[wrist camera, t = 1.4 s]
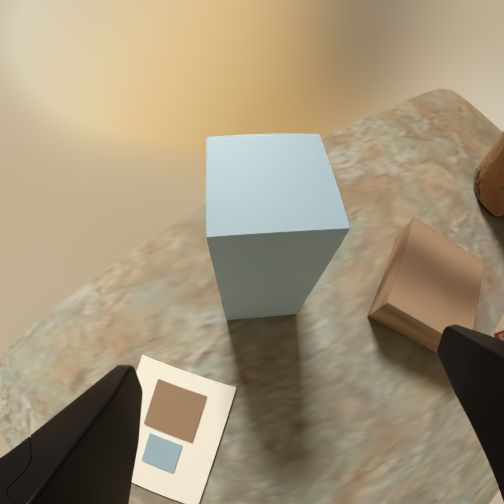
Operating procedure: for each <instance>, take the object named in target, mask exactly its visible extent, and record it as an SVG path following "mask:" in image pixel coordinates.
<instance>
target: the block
mask: <svg viewBox="0 0 504 504" xmlns="http://www.w3.org/2000/svg"><path fill="white" fill-rule="evenodd" d="M474 188H475V192H476V194H477V197H478V199H479V200H480V202H481V203H482V204H483V206H484V207H485V208H486V209H487V210H488V211H489V212H490V213H492V214H493V215H495V216H503V215H504V132H503V133H502V134H501V136H500V137H499V138H498V140H497V141H496V142H495V144H494V145H493V147H492V148H491V150H490V151H489V152H488V154H487V155H486V157H485V158H484V159H483V161H482V162H481V163H480V165H479V166H478V168H477V169H476V171H475V181H474Z"/></svg>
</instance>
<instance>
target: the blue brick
mask: <svg viewBox="0 0 504 504" xmlns="http://www.w3.org/2000/svg"><path fill="white" fill-rule="evenodd" d="M349 229H350V226H349V223H348V219H347V216H346V213H345V209H344V206H343V203H342V199H341V196H340V193H339V190H338V187H337V184H336V180H335V177H334V174H333V171H332V168H331V166H330V163H329V160H328V157H327V154H326V151H325V148H324V146H323V143H322V140H321V138H320V135H319V134H247V135H229V136H214V137H207V146H206V237H207V242H208V246H209V250H210V255H211V259H212V263H213V267H214V272H215V276H216V280H217V284H218V288H219V292H220V296H221V300H222V304H223V308H224V312H225V316H226V320H234V319H247V318H260V317H271V316H281V315H291V314H296V313H297V312H298V310H299V309H300V307H301V306H302V304H303V303H304V301H305V300H306V298H307V297H308V295H309V294H310V292H311V291H312V289H313V287H314V286H315V284H316V283H317V281H318V280H319V278H320V277H321V275H322V273H323V272H324V270H325V269H326V267H327V265H328V264H329V262H330V261H331V259H332V257H333V256H334V254H335V252H336V251H337V249H338V247H339V246H340V244H341V242H342V241H343V239H344V237H345V236H346V234H347V232H348V231H349Z"/></svg>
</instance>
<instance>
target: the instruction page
mask: <svg viewBox="0 0 504 504" xmlns="http://www.w3.org/2000/svg"><path fill="white" fill-rule="evenodd" d="M136 373H137V376H138V379H139V382H140V384H141V387H142V392H143V395H142V406H141V418H140V431H139V442H138V449H137V454H136V459H135V465H134V471H133V477H132V483H134V484H137V485H139V486H141V487H143V488H146V489H148V490H150V491H153V492H155V493H158V494H160V495H163V496H165V497H168V498H171V499H173V500H176V501H179V502H182V503H185V504H199V502H200V499H201V496H202V493H203V490H204V487H205V485H206V482H207V479H208V476H209V473H210V470H211V467H212V463H213V460H214V457H215V454H216V451H217V448H218V445H219V442H220V439H221V436H222V433H223V430H224V426H225V423H226V420H227V417H228V414H229V411H230V407H231V404H232V401H233V398H234V395H235V391H236V387H233V386H229V385H226V384H223V383H219V382H216V381H213V380H210V379H207V378H204V377H201V376H198V375H195V374H192V373H189V372H186V371H183V370H180V369H178V368H175V367H172V366H170V365H167V364H164V363H162V362H159V361H157V360H154V359H152V358H149V357H147V356H144V355H142V358H141V361H140V364H139V366H138V369H137V372H136Z"/></svg>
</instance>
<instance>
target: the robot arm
mask: <svg viewBox="0 0 504 504" xmlns="http://www.w3.org/2000/svg"><path fill="white" fill-rule="evenodd" d="M437 352H438V356H439V358H440V361H441V363H442V365H443V367H444V369H445V371H446V374H447V376H448V378H449V381H450V383H451V385H452V387H453V390H454V392H455V394H456V396H457V398H458V399H459V401H460V403H461V405H462V407H463V409H464V411H465V413H466V415H467V417H468V419H469V421H470V423H471V425H472V427H473V429H474V431H475V433H476V435H477V437H478V439H479V441H480V443H481V446H482V448H483V450H484V452H485V454H486V457H487V459H488V461H489V464H490V466H491V468H492V471H493V473H494V476H495V478H496V481H497V483H498V487H499V489H500V492H501V495H502V498H503V501H504V341H503V340H500V339H497V338H494V337H491V336H488V335H486V334H483V333H480V332H477V331H474V330H471V329H468V328H466V327H463V326H460V325H457V324H454V325H450V326H447V327H445V329H444V330H443V333H442V336H441V339H440V342H439V345H438V349H437ZM142 395H143V392H142V387H141V384H140V382H139V379H138V376H137V373H136V371H135V369H134V367H133V366H131V365H118V366H116V367H115V368H114V369H112V370H111V371H110V372H109V373H108V374H106V375H105V376H104V377H103V378H101V379H100V380H99V381H98V382H96V383H95V384H94V385H93V386H91V387H90V388H89V389H88V390H86V391H85V392H84V393H83V394H82V395H80V396H79V397H78V398H77V399H75V400H74V401H73V402H72V403H70V404H69V405H68V406H67V407H65V408H64V409H63V410H62V411H60V412H59V413H58V414H57V415H55V416H54V417H53V418H52V419H50V420H49V421H48V422H47V423H45V424H44V425H43V426H42V427H40V428H39V429H38V430H37V431H35V432H34V433H33V434H32V435H31V437H28V438H27V439H25V440H24V441H23V442H22V443H20V444H19V445H18V446H16V447H15V448H14V449H12V450H11V451H10V452H8V453H7V454H6V455H4V456H3V457H1V458H0V504H128V503H129V496H130V489H131V483H132V477H133V471H134V465H135V459H136V454H137V449H138V442H139V431H140V418H141V406H142Z"/></svg>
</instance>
